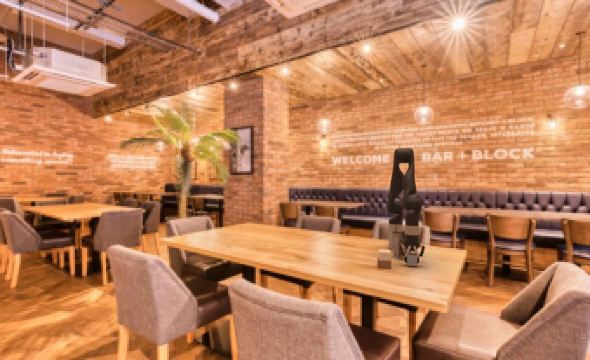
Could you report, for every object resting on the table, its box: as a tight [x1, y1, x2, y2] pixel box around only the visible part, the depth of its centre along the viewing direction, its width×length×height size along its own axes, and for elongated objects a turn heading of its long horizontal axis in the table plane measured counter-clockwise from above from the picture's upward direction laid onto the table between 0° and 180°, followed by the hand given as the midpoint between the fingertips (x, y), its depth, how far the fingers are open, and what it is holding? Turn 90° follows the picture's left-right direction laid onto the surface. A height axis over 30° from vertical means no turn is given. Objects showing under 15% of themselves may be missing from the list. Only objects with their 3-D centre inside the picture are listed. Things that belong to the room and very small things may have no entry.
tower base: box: [377, 256, 392, 270], centre depth 163 cm, size 7×7×4 cm
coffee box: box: [391, 230, 412, 261], centre depth 180 cm, size 9×6×16 cm
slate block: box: [406, 252, 418, 267], centre depth 164 cm, size 5×5×6 cm
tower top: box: [378, 249, 392, 262], centre depth 163 cm, size 6×6×4 cm
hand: (411, 263), depth 164 cm, fingers closed on slate block, 5 cm apart
